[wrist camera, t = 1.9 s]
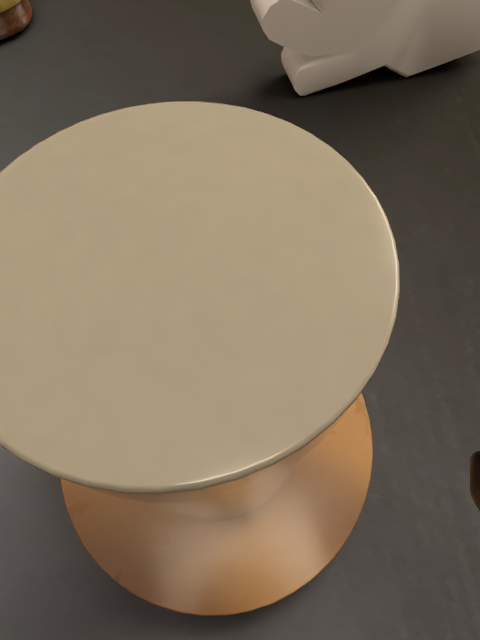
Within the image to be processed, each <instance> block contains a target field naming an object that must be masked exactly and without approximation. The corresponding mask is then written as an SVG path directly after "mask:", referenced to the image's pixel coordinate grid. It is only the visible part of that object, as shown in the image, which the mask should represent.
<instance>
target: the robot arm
mask: <svg viewBox="0 0 480 640" xmlns="http://www.w3.org/2000/svg"><path fill="white" fill-rule="evenodd" d="M470 492H471V496H472V499H473V501H474V503H475V504H476V506H477V508H478V509H479V511H480V451H478V452H475V453H473V454H472V456H471V459H470Z"/></svg>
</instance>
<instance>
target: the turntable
mask: <svg viewBox="0 0 480 640" xmlns="http://www.w3.org/2000/svg"><path fill="white" fill-rule="evenodd" d="M372 460H373V456H372V434H371V428H370V421H369V416H368V412H367V409H366V405H365V402H364V399H363V396H362V394H361V393H360V395H359V396H358V398H357V399H356V401H355V402H354V403H353V404H352V406H351V407H350V408H349V410H348V411H347V412H346V414H345V415H344V416H343V418H342V419H341V420H340V421H339V423H338V424H337V425H336V426H335V427H334V429H333V430H332V431H331V432H330V433H329V434H328V435H327V436H326V437H325V438H324V439H323V440H322V441H321V442H320V443H319V444H318V446H316V447H315V448H314V449H313V450H311V451H310V452H309V453H308V454H306V455H305V456H304V457H303V458H301V460H300V461H299V463H298V465H297V466H296V468H295V469H294V471H293V472H292V474H291V475H290V477H289V478H288V480H287V481H286V483H285V484H284V486H283V487H282V488H281V490H280V491H279V492H278V493H277V494H276V495H275V496H274V497H273V498H272V499H271V500H270V501H269V502H267V503H266V504H265V505H264V506H262V507H261V508H259V509H257V510H256V511H254V512H252V513H250V514H248V515H245V516H243V517H241V518H237V519H233V520H229V521H221V522H205V521H199V520H193V519H190V518H187V517H184V516H181V515H179V514H177V513H175V512H172V511H170V510H168V509H166V508H164V507H161V506H159V505H157V504H155V503H146V502H140V501H134V500H128V499H122V498H116V497H113V496H110V495H107V494H104V493H100V492H97V491H94V490H91V489H88V488H85V487H83V486H80V485H77V484H74V483H71V482H69V481H66V480H63V479H61V487H62V492H63V496H64V500H65V505H66V508H67V511H68V514H69V516H70V519H71V522H72V524H73V527H74V529H75V531H76V533H77V534H78V536H79V538H80V540H81V542H82V543H83V545H84V547H85V548H86V550H87V551H88V552H89V554H90V555H91V556H92V558H93V559H94V560H95V562H96V563H97V564H98V565H99V566H100V567H101V568H102V569H103V570H104V571H105V572H106V573H107V574H108V575H109V576H110V577H111V578H112V579H113V580H114V581H115V582H117V583H118V584H119V585H121V586H122V587H124V588H125V589H126V590H128V591H129V592H131V593H132V594H134V595H135V596H137V597H139V598H141V599H143V600H145V601H147V602H149V603H151V604H154V605H156V606H159V607H162V608H165V609H168V610H172V611H175V612H178V613H185V614H192V615H199V616H226V615H232V614H238V613H244V612H250V611H253V610H256V609H259V608H262V607H265V606H268V605H270V604H273V603H275V602H277V601H279V600H281V599H283V598H285V597H287V596H289V595H291V594H293V593H294V592H296V591H297V590H299V589H300V588H301V587H303V586H304V585H306V584H307V583H308V582H310V581H311V580H312V579H314V578H315V577H316V576H317V575H318V574H319V573H320V572H321V571H322V570H323V569H324V568H325V567H326V566H327V565H328V564H329V563H330V562H331V561H332V560H333V558H334V557H335V556H336V555H337V553H338V552H339V551H340V549H341V548H342V547H343V546H344V544H345V543H346V541H347V539H348V537H349V536H350V534H351V532H352V530H353V529H354V527H355V525H356V523H357V521H358V518H359V516H360V513H361V511H362V508H363V506H364V503H365V500H366V496H367V492H368V488H369V484H370V478H371V469H372Z"/></svg>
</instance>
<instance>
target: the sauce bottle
mask: <svg viewBox="0 0 480 640" xmlns="http://www.w3.org/2000/svg"><path fill="white" fill-rule="evenodd" d="M31 17H32V9H31V5H30V2H29V0H0V40H2V39H5V38H7V37H10V36H12V35H14V34H16V33H18V32H20V31H22V30H23V29H24V28H25V27H26V26H27V24H28V23H29V22H30V20H31Z"/></svg>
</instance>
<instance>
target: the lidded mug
mask: <svg viewBox="0 0 480 640" xmlns="http://www.w3.org/2000/svg"><path fill="white" fill-rule="evenodd" d="M399 295H400V275H399V262H398V256H397V251H396V245H395V240H394V237H393V234H392V231H391V228H390V225H389V222H388V219H387V217H386V215H385V213H384V211H383V209H382V207H381V205H380V203H379V201H378V199H377V197H376V196H375V194H374V193H373V191H372V190H371V189H370V187H369V186H368V184H367V183H366V182H365V180H364V179H363V177H362V176H361V175H360V174H359V173H358V172H357V171H356V170H355V169H354V168H353V167H352V165H351V164H350V163H349V162H348V161H347V160H346V159H344V158H343V157H342V156H341V155H340V154H339V153H337V152H336V151H335V150H334V149H333V148H331V147H330V146H329V145H327V144H326V143H324V142H323V141H321V140H320V139H318V138H317V137H315V136H314V135H312V134H311V133H309V132H307V131H305V130H303V129H301V128H299V127H297V126H295V125H293V124H291V123H289V122H287V121H284V120H282V119H279V118H277V117H274V116H272V115H269V114H266V113H262V112H259V111H255V110H252V109H248V108H244V107H238V106H233V105H227V104H221V103H211V102H200V101H173V102H161V103H150V104H144V105H138V106H132V107H127V108H123V109H119V110H115V111H111V112H107V113H104V114H101V115H98V116H95V117H92V118H89V119H87V120H84V121H81V122H79V123H76V124H74V125H72V126H70V127H68V128H65V129H63V130H61V131H59V132H57V133H55V134H53V135H52V136H50V137H48V138H46V139H45V140H43V141H41V142H39V143H38V144H36V145H35V146H33V147H32V148H30V149H29V150H28V151H26V152H25V153H23V154H22V155H20V156H19V157H18V158H16V159H15V160H14V161H13V162H12V163H10V164H9V165H8V166H7V167H6V168H5V169H3V170H2V171H1V172H0V445H1V446H3V447H4V448H5V449H7V450H8V451H9V452H11V453H12V454H14V455H15V456H16V457H18V458H19V459H20V460H22V461H24V462H26V463H28V464H30V465H32V466H34V467H36V468H38V469H40V470H42V471H44V472H46V473H48V474H50V475H52V476H55V477H57V478H60V479H63V480H66V481H69V482H71V483H74V484H77V485H80V486H83V487H85V488H88V489H91V490H94V491H97V492H100V493H104V494H107V495H110V496H113V497H116V498H122V499H128V500H134V501H140V502H146V503H155V504H157V505H159V506H161V507H164V508H166V509H168V510H170V511H172V512H175V513H177V514H179V515H181V516H184V517H187V518H190V519H193V520H199V521H205V522H221V521H229V520H233V519H237V518H241V517H243V516H245V515H248V514H250V513H252V512H254V511H256V510H257V509H259V508H261V507H262V506H264V505H265V504H266V503H267V502H269V501H270V500H271V499H272V498H273V497H274V496H275V495H276V494H277V493H278V492H279V491H280V490H281V488H282V487H283V486H284V484H285V483H286V481H287V480H288V478H289V477H290V475H291V474H292V472H293V471H294V469H295V468H296V466H297V465H298V463H299V461H300V460H301V458H303V457H304V456H305V455H306V454H308V453H309V452H310V451H311V450H313V449H314V448H315V447H316V446H318V444H319V443H320V442H321V441H322V440H323V439H324V438H325V437H326V436H327V435H328V434H329V433H330V432H331V431H332V430H333V429H334V427H335V426H336V425H337V424H338V423H339V421H340V420H341V419H342V418H343V416H344V415H345V414H346V412H347V411H348V410H349V408H350V407H351V406H352V404H353V403H354V402H355V401H356V399H357V398H358V396H359V395H360V393H361V392H362V391H363V389H364V388H365V386H366V385H367V383H368V382H369V381H370V379H371V378H372V376H373V375H374V373H375V371H376V369H377V367H378V365H379V363H380V361H381V359H382V357H383V355H384V353H385V351H386V349H387V347H388V344H389V340H390V337H391V334H392V331H393V328H394V324H395V321H396V316H397V309H398V302H399Z"/></svg>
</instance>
